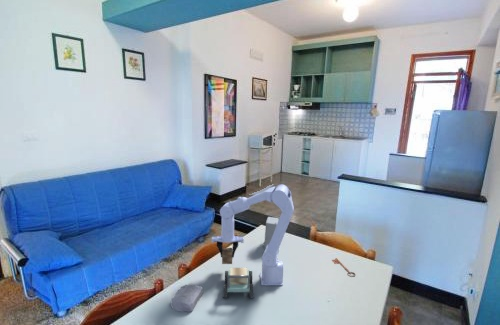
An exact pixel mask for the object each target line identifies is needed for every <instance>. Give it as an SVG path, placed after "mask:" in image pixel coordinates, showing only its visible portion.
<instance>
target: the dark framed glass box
mask: <svg viewBox="0 0 500 325" xmlns="http://www.w3.org/2000/svg"><path fill="white" fill-rule="evenodd" d="M228 293H249V299H250V298H251V299H253V298H254V284H253V270H248V268H247V267H230V270H225V271H224V284H223V292H222V294H223V298H224V299H228Z"/></svg>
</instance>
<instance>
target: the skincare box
mask: <svg viewBox="0 0 500 325" xmlns="http://www.w3.org/2000/svg"><path fill="white" fill-rule="evenodd" d="M279 218H280V217H272V216H268V217H267V219H266V222H265V233H264V242H263V244H264V245H263V248H264V249H265V248H266V246H267V245H268V244H269V243H270V241H271V238H272V236H273V233H274V231H275V228H276V226H277V223H278V221H279Z"/></svg>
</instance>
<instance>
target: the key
mask: <svg viewBox="0 0 500 325" xmlns="http://www.w3.org/2000/svg"><path fill="white" fill-rule="evenodd" d="M331 261H332V263H334V265H341V266H342V268H344V270H345V271H347V276H348V277H349V278H350V277H352V278H354V277H355V276H356V273H355V272H352V271H350V270H349V268H347V267H346V266H345V265H344V264H343V263H342V262H341V261H340V260H339V259H338V258H335V259H331ZM349 274H350V275H349ZM351 274H353V275H351Z"/></svg>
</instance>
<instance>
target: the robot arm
mask: <svg viewBox="0 0 500 325" xmlns="http://www.w3.org/2000/svg"><path fill="white" fill-rule="evenodd" d="M263 201H266V202H269V203H273V204H274V205H275V206H277V207H278V208H279V209H280V211H281V214H280V216H279V217H278V218H279V221H278V223H277V226H276V228H275V231H274V233H273V236H272V238H271V241H270V243H269V244H268V245H267V246H266V248H264V249H265V250H264V252H263V254H262V257H261V262H262V263H261V273H259V275H260V276H259V277H260V285H261V286H283V285H284V283H283V281H284V280H283V279H284V264H283V261H282V260H279V259H278V255H279V252H280V246H281V245H282V241H283V239H284V237H285V234H286V232H287V229H288V227H289V224H290V221H291V219H292V216H293V214H294V210H295V207H294V202H293V197H292V191H291V190H290V189H289V187H288V186H287V185H285V184H278V185H276V186H274V185H273V186H270V187H268V188H267V189H265V190H263V191H261V192H258V193H255V194H253V195H252V196H251V195H250V197H245V196H239V197H237V198H236V199H235V200H232V201H231V200H230V201H228V202H226V203H225V204H224V205H223V206H221V207H220V209H219V214H220V217H221V229H220V230H221V233H220V234H221V235H217V236H211V243H212V244H214V243H216V247H217V249H218V251H219V253H220V258H222V250H223V248H224V246H223V244H224V243H225V244H226V243H227V244H229V243H232V249H233V252H232V258H234V257H235V253H236V250H237V248H238V246H239V243H241V244H244V243H245V242H244V241H245V240H244V238H245V237H243V236H235V215H237V214H239V213H240V214H241V213H243V212H245V211H247V210H249V209H250V206H252V205H255V204H257V203H258V204H259V203H260V202H263Z"/></svg>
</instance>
